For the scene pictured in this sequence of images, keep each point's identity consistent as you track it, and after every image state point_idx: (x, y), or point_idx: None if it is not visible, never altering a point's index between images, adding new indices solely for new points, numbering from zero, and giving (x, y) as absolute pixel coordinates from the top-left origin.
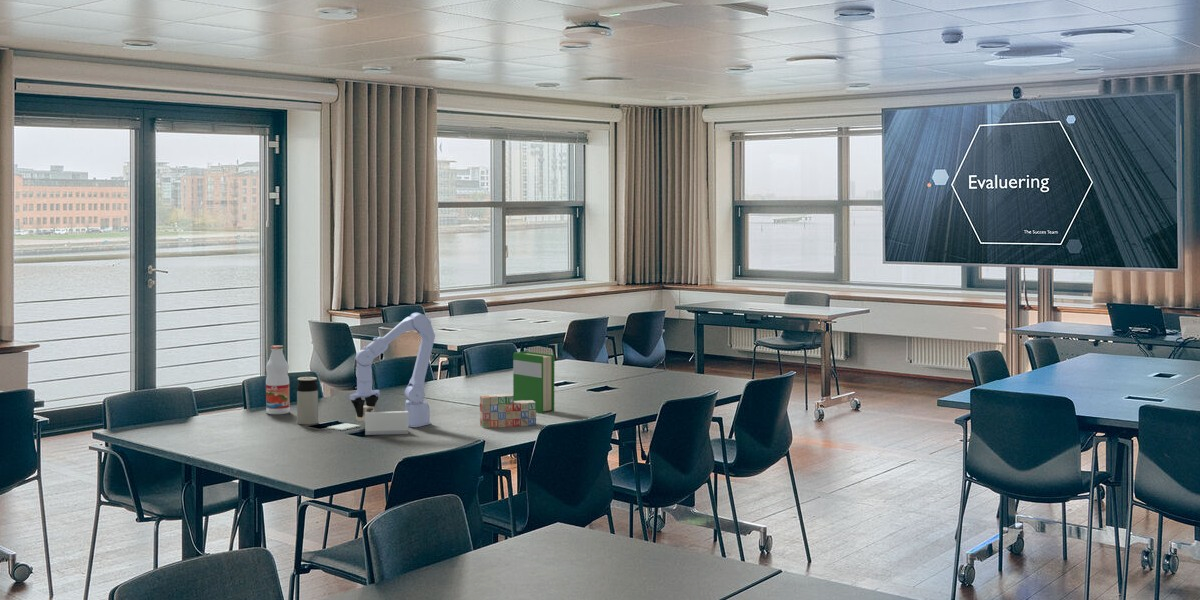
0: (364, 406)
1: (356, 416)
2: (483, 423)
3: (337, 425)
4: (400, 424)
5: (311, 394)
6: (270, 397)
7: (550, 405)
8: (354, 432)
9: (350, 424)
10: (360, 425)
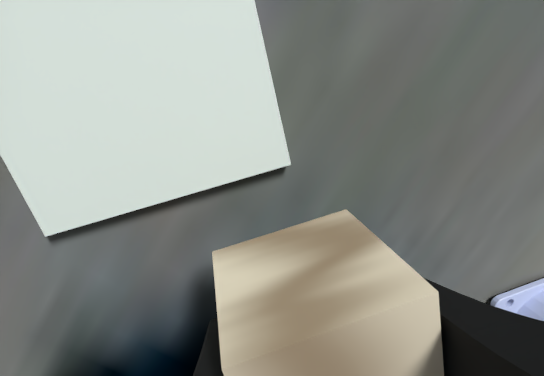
0: (374, 370)
1: (218, 284)
2: None
3: (91, 10)
4: None
5: None
6: None
7: None
8: (120, 342)
9: (239, 64)
10: (289, 164)
